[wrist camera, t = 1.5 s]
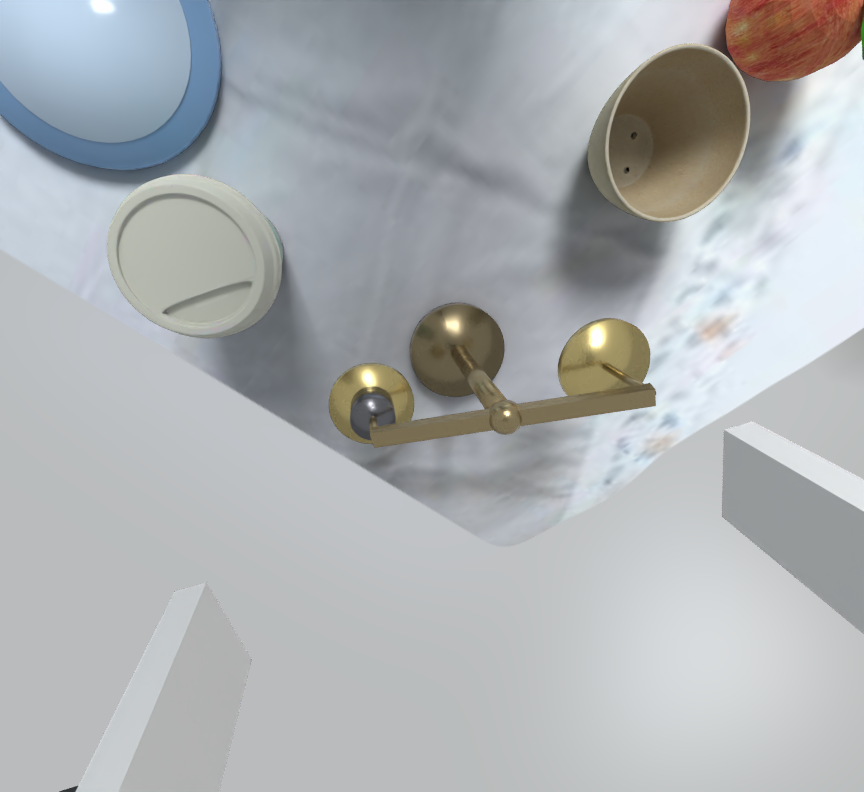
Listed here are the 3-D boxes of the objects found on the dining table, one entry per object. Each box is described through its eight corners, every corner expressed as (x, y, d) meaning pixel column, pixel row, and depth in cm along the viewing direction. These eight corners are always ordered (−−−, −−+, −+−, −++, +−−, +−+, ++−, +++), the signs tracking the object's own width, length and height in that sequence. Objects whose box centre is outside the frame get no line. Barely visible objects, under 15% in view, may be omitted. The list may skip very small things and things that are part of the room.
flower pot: (595, 246, 38) (645, 252, 31) (536, 134, 34) (578, 115, 27) (698, 169, 37) (772, 159, 30) (648, 45, 33) (720, 2, 26)
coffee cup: (178, 291, 34) (92, 327, 23) (186, 170, 32) (94, 146, 21) (293, 316, 36) (264, 360, 25) (310, 204, 34) (287, 199, 23)
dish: (-113, -96, 25) (-135, -111, 24) (156, -153, 26) (147, -169, 25) (40, 193, 31) (28, 192, 30) (256, 141, 32) (252, 138, 30)
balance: (320, 337, 37) (293, 425, 22) (567, 271, 38) (710, 310, 23) (349, 422, 40) (343, 551, 25) (576, 359, 41) (708, 445, 26)
